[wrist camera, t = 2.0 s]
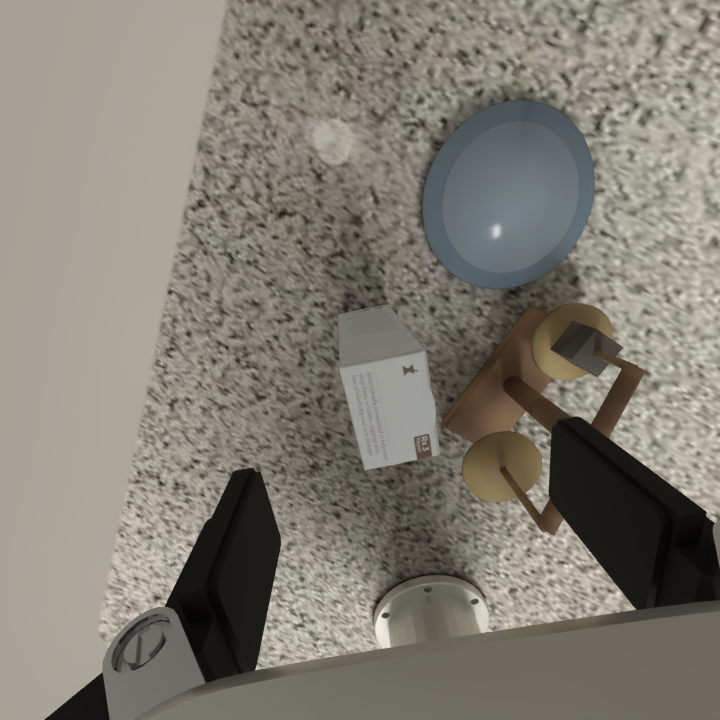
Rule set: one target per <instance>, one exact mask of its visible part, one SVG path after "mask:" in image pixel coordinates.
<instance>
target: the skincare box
mask: <svg viewBox="0 0 720 720" xmlns="http://www.w3.org/2000/svg"><path fill="white" fill-rule="evenodd" d="M338 342H339V357H340V362H339V371H340V375H341V379H342V383H343V387H344V391H345V395H346V399H347V403H348V407H349V411H350V415H351V419H352V423H353V427H354V431H355V435H356V439H357V443H358V447H359V451H360V455H361V459H362V462H363V466H364V470H369V469H374V468H380V467H385V466H390V465H395V464H399V463H404V462H409V461H413V460H418V459H422V458H427V457H432V456H437V455H439V454H440V449H439V442H438V434H437V427H436V420H435V419H436V408H435V400H434V397H433V394H432V389H431V382H430V375H429V368H428V362H427V355H426V350H425V349H424V347H423V346H422V345H421V343H420V342H419V341H418V340H417V339H416V337H415V336H414V335H413V334H412V333H411V332H410V330H409V329H408V328H407V327H406V326H405V324H404V323H403V322H402V321H401V320H400V318H399V317H398V316H397V315H396V313H395V312H394V311H393V310H392V309H391V308H390V306H389V305H387V304H386V305H381V306H376V307H370V308H365V309H360V310H356V311H351V312H346V313H342V314H339V315H338Z"/></svg>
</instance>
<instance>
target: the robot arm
mask: <svg viewBox="0 0 720 720" xmlns="http://www.w3.org/2000/svg"><path fill="white" fill-rule="evenodd" d="M549 497H550V500H551V502H552V504H553V505H554V507H555V508H556V509H557V510H558V512H559V513H560V514H561V515H562V517H563V518H564V519H565V520H566V522H567V523H568V524H569V525H570V527H571V528H572V529H573V531H574V532H575V533H576V534H577V536H578V537H579V538H580V539H581V541H582V542H583V543H584V544H585V546H586V547H587V548H588V549H589V551H590V552H591V553H592V555H593V556H594V557H595V558H596V560H597V561H598V562H599V563H600V565H601V566H602V567H603V568H604V570H605V571H606V572H607V573H608V575H609V576H610V577H611V579H612V580H613V581H614V582H615V584H616V585H617V586H618V587H619V589H620V590H621V591H622V592H623V594H624V595H625V596H626V597H627V599H628V600H629V601H630V602H631V604H632V605H633V606H634V607H635V608H636V609H637V610H633V611H627V612H620V613H613V614H606V615H599V616H593V617H586V618H579V619H572V620H566V621H559V622H552V623H545V624H539V625H532V626H526V627H519V628H513V629H506V630H499V631H493V632H486V631H487V628H488V626H489V618H490V616H489V610H488V607H487V605H486V602H485V600H484V598H483V596H482V595H481V593H480V591H479V590H477V589H476V588H475V587H474V586H473V585H471V584H470V583H468V582H466V581H464V580H462V579H459V578H456V577H451V576H446V575H429V576H421V577H418V578H414V579H411V580H408V581H406V582H404V583H401V584H400V585H398V586H396V587H395V588H393V589H392V590H391V591H390V592H388V593H387V594H386V595H385V596H384V597H383V599H382V600H381V601H380V602H379V604H378V606H377V608H376V610H375V614H374V632H375V637H376V640H377V642H378V644H379V645H380V646H381V648H382V649H378V650H372V651H366V652H360V653H353V654H347V655H341V656H335V657H328V658H322V659H316V660H310V661H305V662H299V663H294V664H288V665H283V666H277V667H272V668H266V669H261V670H255V669H256V665H257V661H258V656H259V651H260V646H261V641H262V636H263V631H264V626H265V621H266V616H267V611H268V606H269V601H270V596H271V592H272V587H273V582H274V577H275V572H276V567H277V562H278V557H279V552H280V547H281V538H280V533H279V530H278V527H277V523H276V520H275V517H274V514H273V510H272V507H271V504H270V500H269V497H268V494H267V491H266V487H265V484H264V481H263V478H262V475H261V473H260V472H255V470H254V468H248V469H242V470H236V471H234V472H233V474H232V476H231V478H230V480H229V482H228V484H227V486H226V488H225V491H224V493H223V495H222V497H221V499H220V501H219V503H218V505H217V508H216V510H215V512H214V514H213V516H212V518H210V519H209V520H207V522H206V523H205V525H204V527H203V529H202V531H201V533H200V535H199V537H198V539H197V541H196V543H195V545H194V547H193V549H192V551H191V553H190V556H189V558H188V560H187V562H186V564H185V566H184V568H183V570H182V572H181V574H180V576H179V578H178V580H177V582H176V584H175V586H174V588H173V591H172V593H171V595H170V597H169V599H168V601H167V603H166V605H165V607H157V608H154V609H151V610H149V611H146V612H144V613H143V614H141V615H139V616H138V617H136V618H135V619H134V620H132V621H131V622H130V623H129V624H127V625H126V626H125V627H124V628H123V629H122V630H121V632H120V633H119V634H118V635H117V636H116V637H115V639H114V640H113V642H112V643H111V645H110V646H109V648H108V650H107V652H106V655H105V658H104V660H103V672H102V673H101V674H100V675H98V676H97V677H96V678H95V679H94V680H92V681H91V682H90V683H89V684H88V685H87V686H85V687H84V688H83V689H81V690H80V691H79V692H78V693H77V694H75V695H74V696H73V697H72V698H70V699H69V700H68V701H67V702H66V703H64V704H63V705H62V706H61V707H60V708H58V709H57V710H56V711H55V712H53V713H52V714H51V715H50V716H48V717H47V718H46V719H45V720H720V520H719V521H718V522H716V523H714V522H713V521H711V520H710V519H709V518H707V517H706V513H707V512H706V511H705V510H703V509H702V508H701V507H699V506H698V505H697V504H695V503H694V502H693V501H691V500H690V499H689V498H687V497H686V496H685V495H683V494H682V493H681V492H679V491H678V490H677V489H675V488H674V487H673V486H671V485H670V484H669V483H667V482H666V481H665V480H663V479H662V478H661V477H659V476H658V475H657V474H655V473H654V472H653V471H651V470H650V469H649V468H647V467H646V466H645V465H643V464H642V463H641V462H639V461H638V460H637V459H635V458H634V457H633V456H631V455H630V454H629V453H627V452H626V451H625V450H623V449H622V448H621V447H619V446H618V445H617V444H615V443H614V442H613V441H611V440H610V439H609V438H607V437H606V436H605V435H603V434H602V433H601V432H599V431H598V430H597V429H595V428H594V427H593V426H591V425H590V424H589V423H587V422H586V421H585V420H583V419H582V418H580V417H571V418H564V419H559V420H558V421H557V422H556V425H553V427H552V434H551V455H550V477H549Z"/></svg>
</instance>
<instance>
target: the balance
mask: <svg viewBox="0 0 720 720" xmlns="http://www.w3.org/2000/svg"><path fill="white" fill-rule="evenodd" d="M622 348H623V347H622V346H621V345H619V344H618V343H616V342H615V341H613V340H612V326H611V323H610V321H609V319H608V317H607V316H606V315H605V314H604V313H603V312H602V311H601V310H599V309H598V308H596V307H593V306H590V305H585V304H580V303H572V304H566V305H563V306H560V307H558V308H556V309H554V310H553V311H551V312H550V313H548V314H545V313H544V312H542V311H541V310H539V309H538V308H536V307H533V306H530V305H529V306H528V307H527V308H526V310H525V311H524V312H523V314H522V315H521V316H520V318H519V319H518V320H517V322H516V323H515V324H514V326H513V327H512V328H511V330H510V331H509V332H508V334H507V335H506V336H505V338H504V339H503V340H502V342H501V343H500V344H499V346H498V347H497V349H496V350H495V351H494V353H493V354H492V355H491V357H490V358H489V359H488V361H487V362H486V363H485V365H484V366H483V367H482V369H481V370H480V371H479V373H478V374H477V375H476V377H475V378H474V379H473V381H472V382H471V383H470V385H469V386H468V387H467V389H466V390H465V391H464V393H463V394H462V395H461V397H460V398H459V399H458V401H457V402H456V403H455V405H454V406H453V407H452V409H451V410H450V411H449V413H448V414H447V415H446V417H445V418H444V419H443V421H442V422H443V423H444V425H445V427H446V428H447V429H449V430H451V431H452V432H454V433H456V434H458V435H460V436H462V437H463V438H465V439H467V440H469V441H471V442H473V443H474V444H473V445H472V446H471V447H470V448H469V450H468V451H467V453H466V455H465V457H464V459H463V463H462V475H463V479H464V481H465V483H466V485H467V487H468V488H469V490H470V491H471V492H472V493H473V494H474V495H475V496H477V497H478V498H480V499H483V500H486V501H490V502H504V501H509V500H512V499H515V498H517V497H518V498H519V500H520V501H521V503H522V504H523V505H524V507H525V508H526V510H527V511H528V513H529V514H530V516H531V517H532V518H533V520H534V521H535V523H536V524H537V526H538V527H539V529H540V530H541V531H542V532H548V533H550V534H551V535H555V533H556V531H557V529H558V528H559V526H560V524H561V522H562V521H563V519H564V518H563V517H562V515H561V514H560V513H559V512H558V510H557V509H556V508H555V507H554V505H553V504H552V502H551V500H550V499H549V501H548V503H547V504H546V506H545V508H544V510H543V512H542V513H541V515H540V514H539V512H538V511H537V509H536V508H535V507H534V505H533V504H532V503H531V501H530V500H529V499H528V497H527V496H526V494H525V493H526V492H527V491H528V490H529V489H530V488H531V487H532V486H533V485H534V484H535V483H536V481H537V479H538V478H539V476H540V473H541V469H542V458H541V454H540V452H539V450H538V449H537V447H536V446H535V445H534V444H533V443H532V442H531V441H530V440H529V439H528V438H527V437H525V436H524V435H522V434H519V433H516V432H511V431H510V430H511V428H512V427H513V426H514V425H515V424H516V422H517V421H518V420H519V419H520V417H521V416H522V415H523V414H524V413H525V411H527V412H528V413H529V414H530V415H531V416H532V417H533V418H534V419H536V420H537V421H538V422H539V423H540V424H541V425H542V426H543V427H544V428H546V429H547V430H548V431H549V432H550V433H551V434H552V427H553V425H556V422H557V421H558V420H559V419H564V418H571V416H569V415H568V414H567V413H565V412H564V411H563V410H561V409H560V408H559V407H557V406H556V405H555V404H553V403H552V402H551V401H549V400H548V399H547V398H545V397H544V396H543V395H541V394H540V393H541V392H542V391H543V389H544V388H545V387H546V386H547V384H548V383H549V382H550V381H551V380H552V378H555V379H560V380H572V379H576V378H580V377H582V376H584V375H586V374H588V373H590V374H592V375H594V376H596V377H598V376H599V375H600V374H601V373H602V372H603V370H604V369H605V368H606V367H607V366H608V365H609V363H610V364H612V365H614V366H617V367H619V368H621V369H622V370H621V372H620V373H619V375H618V377H617V379H616V380H615V382H614V384H613V386H612V388H611V389H610V391H609V393H608V395H607V397H606V398H605V400H604V402H603V404H602V406H601V407H600V409H599V411H598V413H597V415H596V416H595V418H594V420H593V422H592V424H591V426H593V427H594V428H595V429H597V430H598V431H599V432H601V433H602V434H603V435H605V436H606V437H607V438H609V436H610V434H611V432H612V431H613V429H614V427H615V425H616V423H617V422H618V420H619V418H620V416H621V414H622V413H623V411H624V409H625V407H626V405H627V404H628V402H629V400H630V398H631V396H632V395H633V393H634V391H635V389H636V387H637V386H638V384H639V382H640V380H641V378H642V377H643V375H644V373H645V371H644V370H643V369H641V368H639V367H638V366H637V365H635V364H632V363H630V362H627V361H625V360H622V359H620V358H618V357H615V356H616V355H617V354H618V353H619V352H620V351H621V349H622Z"/></svg>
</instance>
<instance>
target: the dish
mask: <svg viewBox="0 0 720 720" xmlns="http://www.w3.org/2000/svg"><path fill="white" fill-rule="evenodd" d="M594 188H595V176H594V167H593V162H592V158H591V154H590V151H589V148H588V146H587V143H586V141H585V139H584V137H583V136H582V134H581V132H580V131H579V129H578V128H577V127H576V126H575V125H574V123H573V122H572V121H571V120H570V119H569V118H567V117H566V116H565V115H564V114H563V113H561V112H560V111H558V110H556V109H555V108H553V107H550V106H548V105H546V104H543V103H539V102H535V101H527V100H515V101H507V102H502V103H498V104H495V105H493V106H490V107H488V108H485V109H483V110H481V111H480V112H478V113H476V114H475V115H473V116H472V117H470V118H469V119H468V120H466V121H465V122H464V123H463V124H462V125H461V126H459V127H458V128H457V129H456V130H455V131H454V132H453V133H452V134H451V136H450V137H449V138H448V139H447V140H446V142H445V143H444V144H443V145H442V147H441V148H440V150H439V151H438V153H437V154H436V156H435V158H434V160H433V162H432V164H431V166H430V168H429V171H428V174H427V177H426V180H425V184H424V188H423V193H422V204H421V211H422V223H423V229H424V232H425V236H426V239H427V242H428V244H429V246H430V249H431V250H432V252H433V254H434V255H435V257H436V258H437V260H438V261H439V262H440V263H441V265H442V266H443V267H444V268H445V269H446V270H447V271H449V272H450V273H451V274H453V275H454V276H455V277H457V278H459V279H461V280H463V281H465V282H467V283H470V284H473V285H476V286H479V287H484V288H490V289H505V288H513V287H517V286H521V285H524V284H527V283H529V282H532V281H534V280H536V279H538V278H540V277H541V276H543V275H544V274H546V273H547V272H549V271H550V270H552V269H553V268H554V267H555V266H556V265H558V264H559V263H560V262H561V261H562V260H563V259H564V258H565V257H566V256H567V254H568V253H569V252H570V250H571V249H572V248H573V247H574V245H575V244H576V242H577V240H578V239H579V237H580V236H581V234H582V232H583V229H584V227H585V225H586V223H587V220H588V217H589V214H590V211H591V207H592V203H593V197H594Z"/></svg>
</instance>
